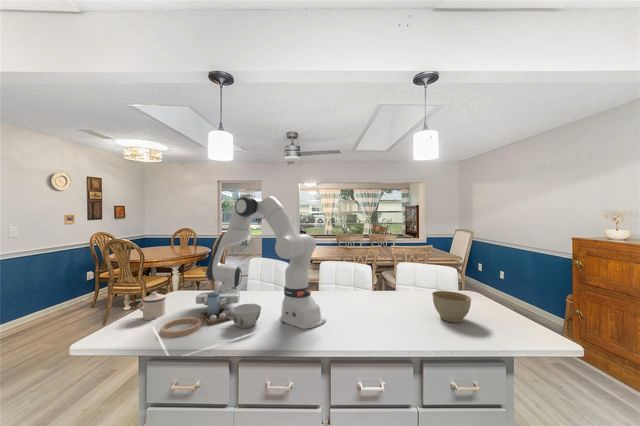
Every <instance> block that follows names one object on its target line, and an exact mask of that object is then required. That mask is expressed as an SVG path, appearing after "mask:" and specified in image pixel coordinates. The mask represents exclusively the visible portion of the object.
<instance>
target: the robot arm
mask: <svg viewBox="0 0 640 426" xmlns="http://www.w3.org/2000/svg"><path fill="white" fill-rule="evenodd" d="M262 219H265V220H266V222H267V224H268V225H269V227H270V229H271V230H272V232H273V234H274V235H275V239H276V240H275V241H276V242H275V246H274V249H275V252H276V255H277V256H278V257H279V258H281V259H285V260H289V263H288V265H287V266H286V269H284V270H285V271H284V275H285V276H284V281H285V282H284V287H283V295H284V297H283V299H282V303H281V304H282V305H281V315H280V317H279V320H280V321H282V322H283V323H284V324H287V325H291V326H293V327H295V328H299V329H302V330H307V329H311V328H312V329H313V328H315V327H318V326H320V325H323V324H325V323H326V321H327V318H326V317H325V316H323V315H322V314H321V313H322V312H321V308H320V306H319V303H318V302H317V301H316V300H315V299H314V298H313V296H312V295H311V293H312V292H313V291H312V289H310V286H309V268H310V265H311V264H310V263H311V261H312V260H311V259H312V255H313V253H314V251H315V250H316V246H317V243H316V240H315V238H314V237H313V236H312V235H309V234H307V233H306V234H305V233H297V232H296V231H295V229H294V220H293V219H292V217H291V216H290V214H289V213H288V211H287V210H286V208H285V207H284V206H283V204H282V203H281V202H280V201H279V200H278V199H277V198H276V197H274V196H269V195H268V196H266V197H264V198H263V199H261V198H258V197H253V196H241V197H239V198H238V199H237V200H236V201H235V204H234V210H232V213H231V215H230V220H229V223H228V227H227V231H226V232H225V233H224V234H222V235H221V236H220V237H219V239H218V240H217V243H216V245H215V249H214V251H213V253H212V256H211V258H210V261H209V263H208V266H207V268H206V270H205V277H206V279H207V280H208V281H209V282H220V283H221V285H219V286H218V287H217V288H215V289H214V290H213V292H219V301H218V305H219V306H222V305H224V304H238V303H239V302H240V295H241V294H240V293H241V290H240V288H239V285H240V284H241V282H242V277H243V272H242V270H241V268H240V266H239V265H232V264H226V263H221V259H222V256H223V253H224V251H225V248H226V247H229V246H235V245H239V244H241V243H244V242H246V240H247V239H248V236H249V234H250V233H249V232H250V227H251V223H252V221H253V220H262ZM208 293H210V291H208V292H202V293H200V294H198V295H196V297H195V303H196V305H202V304H203V305H204V306H207V301H208V296H207V294H208Z"/></svg>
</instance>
